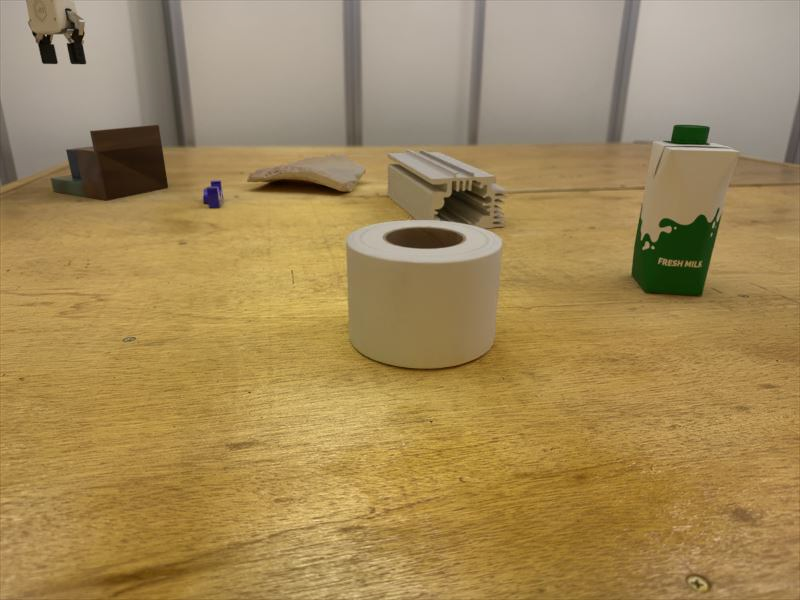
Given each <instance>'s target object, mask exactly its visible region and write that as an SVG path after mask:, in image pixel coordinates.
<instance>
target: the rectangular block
mask: <svg viewBox="0 0 800 600" xmlns="http://www.w3.org/2000/svg"><path fill="white" fill-rule="evenodd" d="M90 147H93V145H92V146H85V147H83V148H90ZM81 148H82V147H76V148H68V149H65V151H66V156H67V160H68V165H69V170H70V175H72V177H75V178H81V174H80V170H79V165H78V160H77V156H76V151H75V149H81Z"/></svg>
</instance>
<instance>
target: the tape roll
mask: <svg viewBox="0 0 800 600" xmlns="http://www.w3.org/2000/svg"><path fill="white" fill-rule="evenodd" d="M345 249H346V253H345V254H346V277H347V278H346V281H347V282H346V283H347V308H348V309H347V311H348V315H347V316H348V337H349V341H350V343H351V345H352V346H353V348H355V349H356V351H358V352H359V353H360V354H362V355H363V356H365V357H367V358H369V359H371V360H374V361H377V362H379V363H382V364H385V365H390V366H395V367H402V368H408V369H423V370H424V369H442V368H449V367H455V366H459V365H463V364H466V363H468V362H472V361H474V360H476V359H479V358H480V357H482V356H484V355H485V354H487V353H488V351H490V349H491V348H492V347H493V346H494V344H495V340H496V326H497V317H498V316H497V315H498V314H497V313H498V302H499V291H500V290H499V289H500V279H501V278H500V275H501V267H502V265H501V264H502V255H503V240H502V238H501V237H500V236H499V235H497V234H496V233H494V231H493V232H492V231H491V230H489V229H487V228H485V229H483V228H480V227H476V226H472V225H467V224H462V223H456V222H447V221H434V220H416V219H408V220H407V219H406V220H390V221H384V222H378V223H374V224H369V225H366V226H363V227H360V228H357V229H355V230H353V231H352V232H350V233H349V234H348V235H347V237H346V239H345Z"/></svg>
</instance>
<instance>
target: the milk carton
mask: <svg viewBox="0 0 800 600" xmlns="http://www.w3.org/2000/svg"><path fill="white" fill-rule="evenodd" d="M710 129H711V127H710V126H707V125H698V124H675V125H673V127H672V133H671V138H670V140H662V141H660V140H659V141H658V140H654V141H652V143H651V151H650V156H649V163H648V169H647V175H646V180H645V186H644V190H643V196H642V202H641V206H640V212H639V218H638V223H637V229H636V234H635V240H634V245H633V247H634V248H633V254H632V263H631V264H632V265H631V273H630V274H631V276H632V277H633V278H634V279H635V281H636V282H637V283H638V285H639V286H640V287H641V289H642V291H643V292H644V293H651V294H667V295H668V294H669V295H681V296H683V295H684V296H700V297H702V296H703V293H704V289H705V285H706V281H707V276H708V273H709V269H710V264H711V260H712V257H713V251H714V247H715V244H716V240H717V236H718V231H719V228H720V224H721V220H722V219H721V218H722V216H723V211H724V207H725V202H726V198H727V195H728V191H729V187H730V183H731V180H732V177H733V174H734V171H735V169H736V166H737V162H738V159H739V158H740V155H741V153H742V151H740V150H736V149H734V148H733V147H732V146H728V145H723V144H720V143H716V142H708V140H709V134H710Z"/></svg>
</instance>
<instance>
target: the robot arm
mask: <svg viewBox="0 0 800 600" xmlns="http://www.w3.org/2000/svg"><path fill="white" fill-rule="evenodd" d="M25 1H26V2H25V3H26V8H27V15H28V22H27V24H28V27H29V28H30V30H31V34H32V36H33V37H34V39H35V43H36V44H37V46H38V51H39V55H40V59H41V64H42V65H57V64H58V63H59V62H58V57H57V52H56V47H55V44H54V43H52V42H53V39H54V35H63V36H64V37H65V39H66V41H67V42H66V47H67V52H68V59H69V63H70V64H71V65H86V64H87V59H86V55H85V49H84V44H85V39H84V37H85V27H86V25H85V24H86V20H85V19H83V17H81V16H80V15H78V12H77V7H76V4H75V0H25Z"/></svg>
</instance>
